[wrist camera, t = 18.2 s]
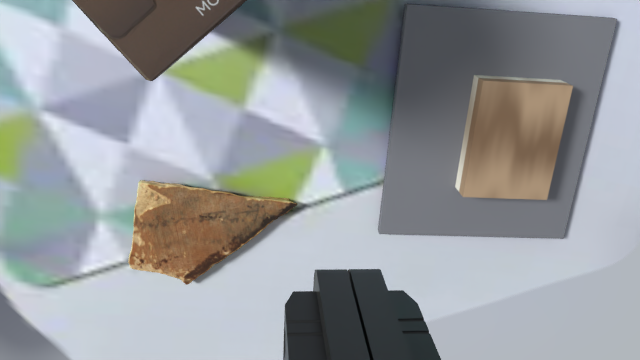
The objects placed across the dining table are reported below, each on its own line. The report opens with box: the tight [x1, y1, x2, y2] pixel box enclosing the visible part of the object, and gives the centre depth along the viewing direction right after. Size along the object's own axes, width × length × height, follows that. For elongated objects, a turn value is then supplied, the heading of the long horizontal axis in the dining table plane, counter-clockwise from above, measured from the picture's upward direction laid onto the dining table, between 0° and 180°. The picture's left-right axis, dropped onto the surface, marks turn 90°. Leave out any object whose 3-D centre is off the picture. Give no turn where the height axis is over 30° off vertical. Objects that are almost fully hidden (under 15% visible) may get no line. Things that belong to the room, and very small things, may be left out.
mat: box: [378, 4, 617, 239], centre depth 41 cm, size 16×14×1 cm
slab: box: [455, 75, 573, 200], centre depth 40 cm, size 8×2×6 cm
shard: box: [128, 180, 297, 285], centre depth 42 cm, size 11×8×2 cm
